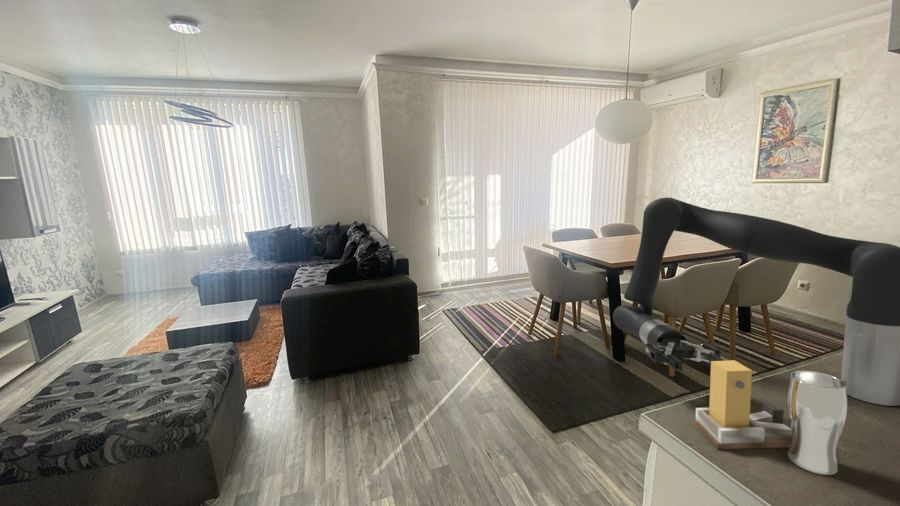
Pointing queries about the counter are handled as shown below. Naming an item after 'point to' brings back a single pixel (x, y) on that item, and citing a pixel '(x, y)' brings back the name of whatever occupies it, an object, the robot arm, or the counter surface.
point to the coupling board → (747, 430)
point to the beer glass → (816, 420)
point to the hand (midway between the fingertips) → (701, 366)
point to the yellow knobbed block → (730, 394)
